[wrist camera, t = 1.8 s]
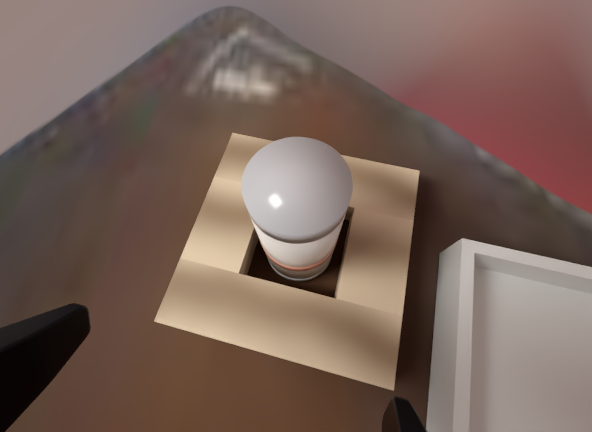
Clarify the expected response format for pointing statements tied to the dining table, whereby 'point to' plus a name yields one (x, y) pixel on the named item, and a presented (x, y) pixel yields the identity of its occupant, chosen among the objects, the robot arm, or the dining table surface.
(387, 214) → the socket block
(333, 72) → the dining table surface
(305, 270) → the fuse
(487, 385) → the tray
